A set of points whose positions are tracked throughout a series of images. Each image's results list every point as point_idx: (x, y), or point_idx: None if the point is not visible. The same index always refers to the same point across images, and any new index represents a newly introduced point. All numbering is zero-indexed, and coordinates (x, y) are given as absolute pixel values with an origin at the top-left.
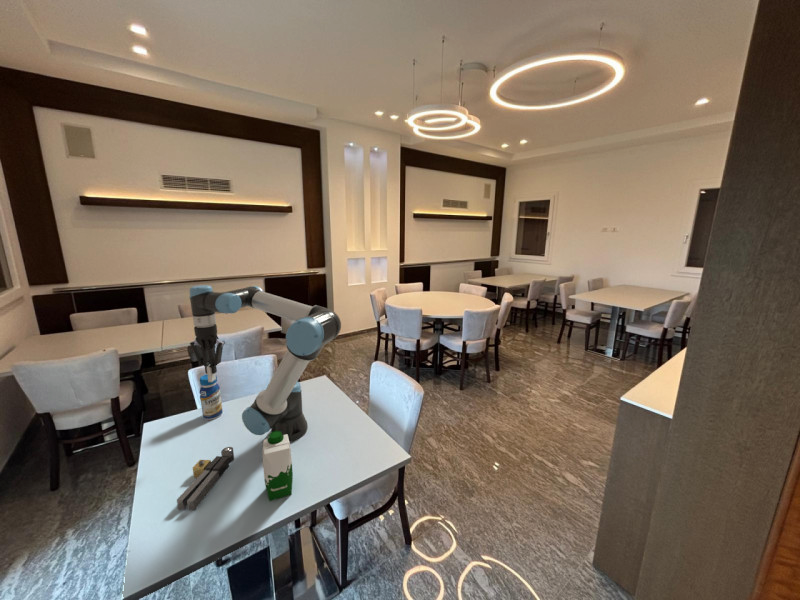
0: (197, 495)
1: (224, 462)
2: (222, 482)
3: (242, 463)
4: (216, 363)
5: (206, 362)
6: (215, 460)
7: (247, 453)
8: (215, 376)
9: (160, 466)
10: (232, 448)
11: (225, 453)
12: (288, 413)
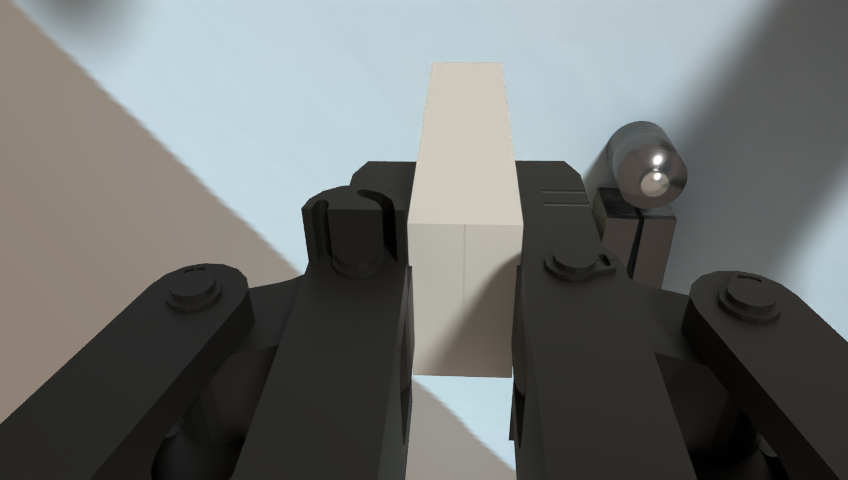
0: None
1: (667, 247)
2: (669, 278)
3: (727, 167)
4: (732, 462)
5: (405, 461)
6: (616, 246)
7: (733, 89)
8: (504, 91)
9: (299, 199)
10: (680, 164)
11: (653, 204)
12: None
